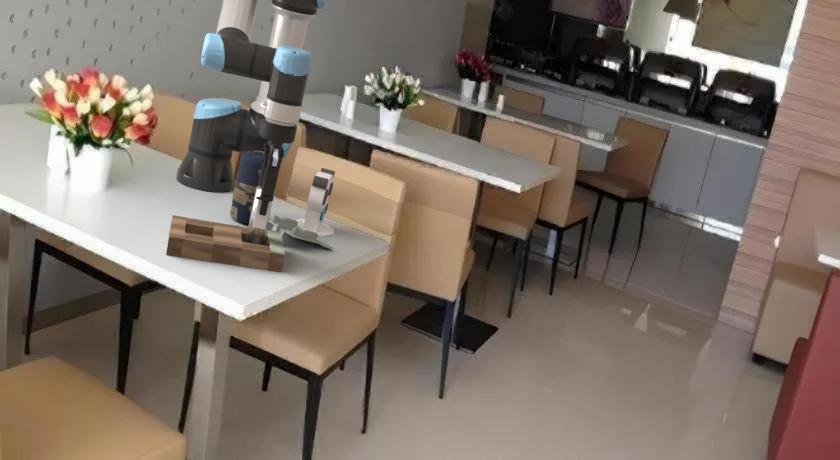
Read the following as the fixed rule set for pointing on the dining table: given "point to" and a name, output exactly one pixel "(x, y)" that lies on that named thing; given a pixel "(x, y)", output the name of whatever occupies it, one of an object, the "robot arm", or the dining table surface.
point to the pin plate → (223, 244)
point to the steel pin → (253, 233)
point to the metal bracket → (295, 230)
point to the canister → (246, 185)
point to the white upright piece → (318, 204)
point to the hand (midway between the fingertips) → (258, 223)
